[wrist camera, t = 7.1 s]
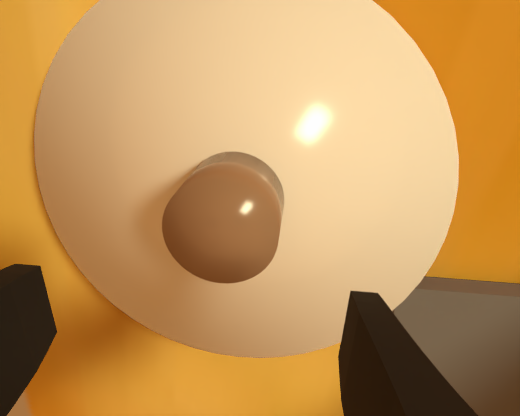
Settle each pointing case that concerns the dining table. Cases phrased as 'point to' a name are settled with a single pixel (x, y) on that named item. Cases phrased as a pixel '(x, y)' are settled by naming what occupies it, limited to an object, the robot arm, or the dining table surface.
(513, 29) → the dining table surface
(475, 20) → the dining table surface
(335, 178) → the lid
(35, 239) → the dining table surface
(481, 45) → the dining table surface
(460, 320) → the mat
